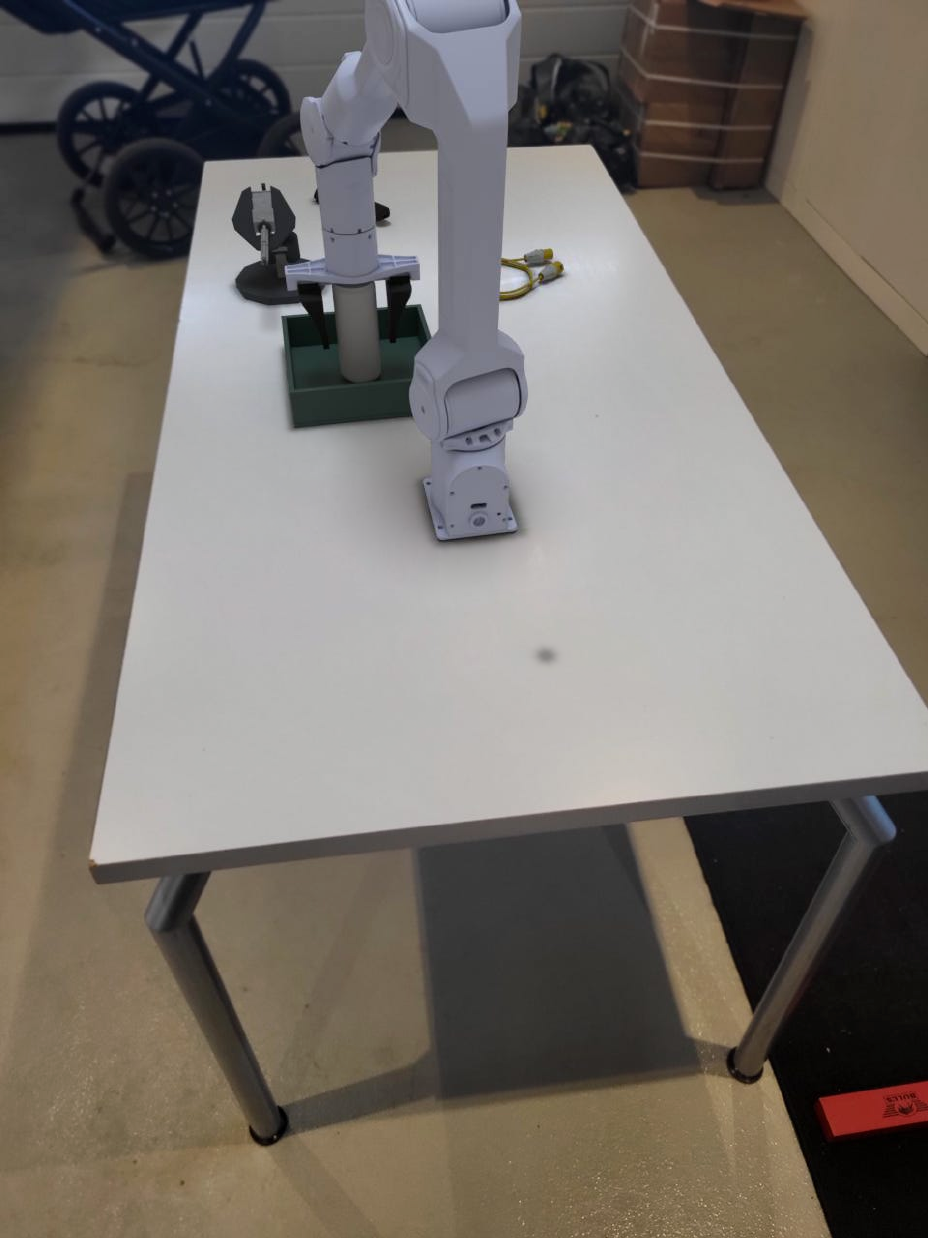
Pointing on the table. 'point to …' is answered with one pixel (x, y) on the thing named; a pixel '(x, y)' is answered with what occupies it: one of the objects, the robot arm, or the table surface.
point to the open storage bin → (323, 387)
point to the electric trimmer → (380, 210)
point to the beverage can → (357, 331)
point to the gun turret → (267, 245)
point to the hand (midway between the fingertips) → (359, 341)
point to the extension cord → (530, 257)
